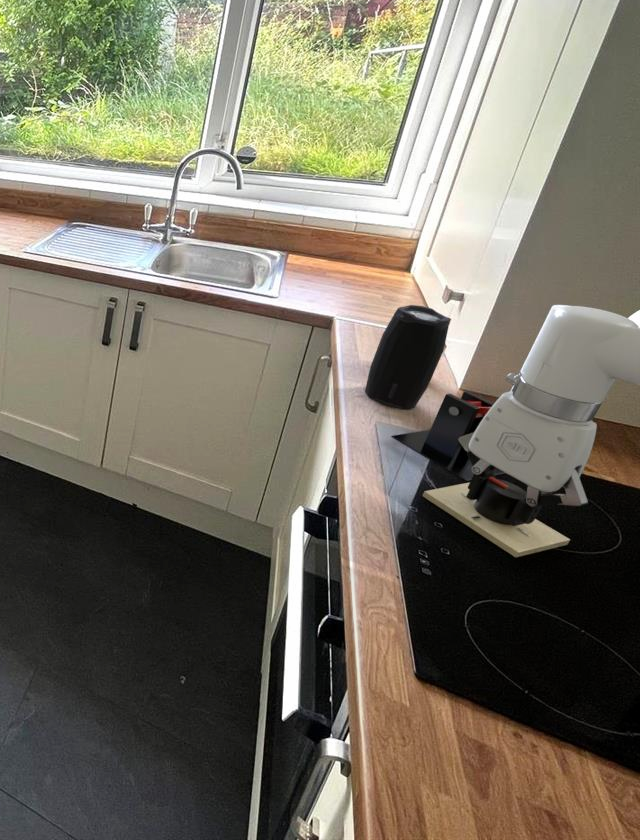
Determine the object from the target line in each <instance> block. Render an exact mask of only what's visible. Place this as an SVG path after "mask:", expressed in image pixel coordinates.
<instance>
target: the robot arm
mask: <svg viewBox="0 0 640 840" xmlns="http://www.w3.org/2000/svg"><path fill="white" fill-rule="evenodd" d="M505 380H506V382H508V383H509V384H511V385H512V387H513V385H514V387H513V389H512V388H511V389H512V392H510V391H506V392H503V393H502V394H501V395H500V396H499V397H498V399H496V401H495V402H493V403H494V404H493V406H492V407H491V408H490V410H489V411H488V412H487V414H486V415H485V416H484V418H483V419H482V421H481V422H480V424H479V426H478V427H477V429H476V430H475V432H473V433H470V434H467V435H465V436H462V437H459V442H460V443H461V445H462V446H463V448H464V449H465V451H467V455H468V457H469V459H470V462H471V464H472V466H473V467H472V472H473V473H474V475H473V477H472V479H471V481H469V482H470V483H469V482H468V483H469V485H468V489H469V492H468V494H467V496H466V497H467V498H468V499H470V500H476V499H477V498H478V496H479V494H480V492H481V490H482V488H483V486H484V484H485V482H486V480H488V479H489V477H493V478H495V479H498V478H497V476H496V474H494V471H495V470H496V469H497V468H498V469H500V470H501V471H503V472H505V473H507V474H506V475H509V476H511V478H514V479H516V480H518V481H519V482H521V483H523V484H525V485H526V486H527V488H526V493H527V494H526V498H525V499H524V500H520V501H518V503H517V504H516V506H515V508H514V510H513V512H512V514H511V515H510V517H509V519H508V523H509V524H510V525H512V526H517V525H521V524H530V523H532V522H533V521H534V520H535V519H536V518H537V516H538V514H539V513H540V511H541V510H542V507H544V506H557V505H558V506H559V505H560V506H569V507H582V506H586V505H588V504H589V500H588V498H587V495H586V492H585V489H584V487H583V484H582V482H581V475H582V473H583V472H584V470H585V468H586V465H587V463H588V460H589V458H590V455H591V453H592V450H593V447H594V443H595V438H596V434H597V428H598V425H597V423H596V422H595V421H593V419H594V418H595V416H596V415H597V412H599V409H600V407H601V405H602V404H603V402H604V400H605V398H606V397H607V395H608V393H609V392H610V390H611V388H612V387H613V385H614V383H615V381H616V380H619V381H623V382H626V383H629V384H632V385H635V386H638V387H640V309H639V310H637V311H636V312H634V313H633V314H631V315H630V316H629V317H626V316H624V315H621V314H618V313H615V312H611V311H608V310H605V309H600V308H596V307H595V308H594V307H588V306H580V305H568V306H567V307H562V308H560V309H558V310H556V311H555V312H554V313H553V314H552V315H551V317H550V319H549V320H548V323H547V325H546V327H545V329H544V331H543V333H542V335H541V337H540V339H539V341H538V343H537V345H536V347H535V349H534V351H533V353H532V355H531V357H530V359H529V361H528V363H527V365H526V367H525V369H524V371H523V373H522V375H519V374H516V373H513V372H511V373H509V374H507V376H506V378H505ZM561 488H563V489H564V491H565V493H559V492H557V491H559V490H560V489H561ZM554 492H557V493H554Z"/></svg>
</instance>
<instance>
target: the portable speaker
mask: <svg viewBox="0 0 640 840" xmlns="http://www.w3.org/2000/svg"><path fill="white" fill-rule="evenodd" d="M451 321H452V318H450V317H448V316H445V315H443V314H442V313H439V312H437V310H435V309H433V308H431V307H427V306H423V305H416V304H408V305H405V306H399V307H397V309H396V310H395V312H394V313H393V316H392V317H391V319H390V320H389V322H388V324H387V326H386V328H385V329H384V331H383V333H382V335H381V337H380V340H379V343H378V346H377V347H376V351H375V352H374V353H375V354H374V356H373V359H372V361H371V364H370V367H369V371H368V376H367V380H366V385H365V389H364V393H365V394H366V396H367V397H368V398H369V399H371V400H372V401H374V402H376V403H378V404H380V405H382V406H386V407H388V408H391V409H392V408H393V409H397V410H404V411H405V410H406V411H407V410H412V409H415V408H416V406H417V405H418V403H419V402H420V400H421V398H422V397H423V395H424V393H426V391H427V389H428V388H429V385H430V383H431V380H432V378H433V376H434V374H435V372H436V369H437V367H438V364H439V362H440V361H441V357H442V355H443V353H444V350H445V346H446V341H447V336H448V332H449V327H450V324H451Z"/></svg>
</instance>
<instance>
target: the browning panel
mask: <svg viewBox="0 0 640 840" xmlns="http://www.w3.org/2000/svg"><path fill="white" fill-rule="evenodd" d="M469 483H470V481H468V482H465V483H459V484H454V485H449V486H444V487H439V488H434V489H429V490H424V492H423V494H422V498H425V499H426V500H428V501H429V502H430V503H432V504H434V505H435V506H436V507H438V508H440V509H442V510H443V511H444V512H446V513H448V514H449V515H451V516H452V517H453V518H455V519H456V520H458V521H460V522H461V523H462V524H464V525H465V526H467V527H469V528H470V529H472V530H473V531H475V532H476V533H478V534H479V535H481V536H482V537H483V538H486V539H487V540H488V541H490V542H491V543H493V544H494V545H496V546H497V547H499V548H500V549H502V550H504V552H506V553H508V554H510V555H511V556H512V557H513V558H519V557H523V556H527V555H528V556H529V555H532V554H535V553H540V552H543V551H547V550H552V549H556V548H559V547H563V546H567V545H568V544H569V543H570V541H571V539H570V538H569V537H567V536H565V535H564V534H562V533H560V532H558V531H557V530H555V529H553V528H552V527H550V526H548V525H546V524H545V523H543V522H541V521H540V520H538V519H536V518H535V520H534V521H533V522H532V523H530V524H521V525H517V526H512V525H504V524H499V523H496V522H494V521H491V520H489V519H487V518H485V517H484V516H482V515H481V514H479V513H478V512H477V511H476V510H475V508H474V504H475V502H476V500H477V499H476V500H470V499H468V498H467V497H466V496H467V494H468V492H469V489H468V485H469Z"/></svg>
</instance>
